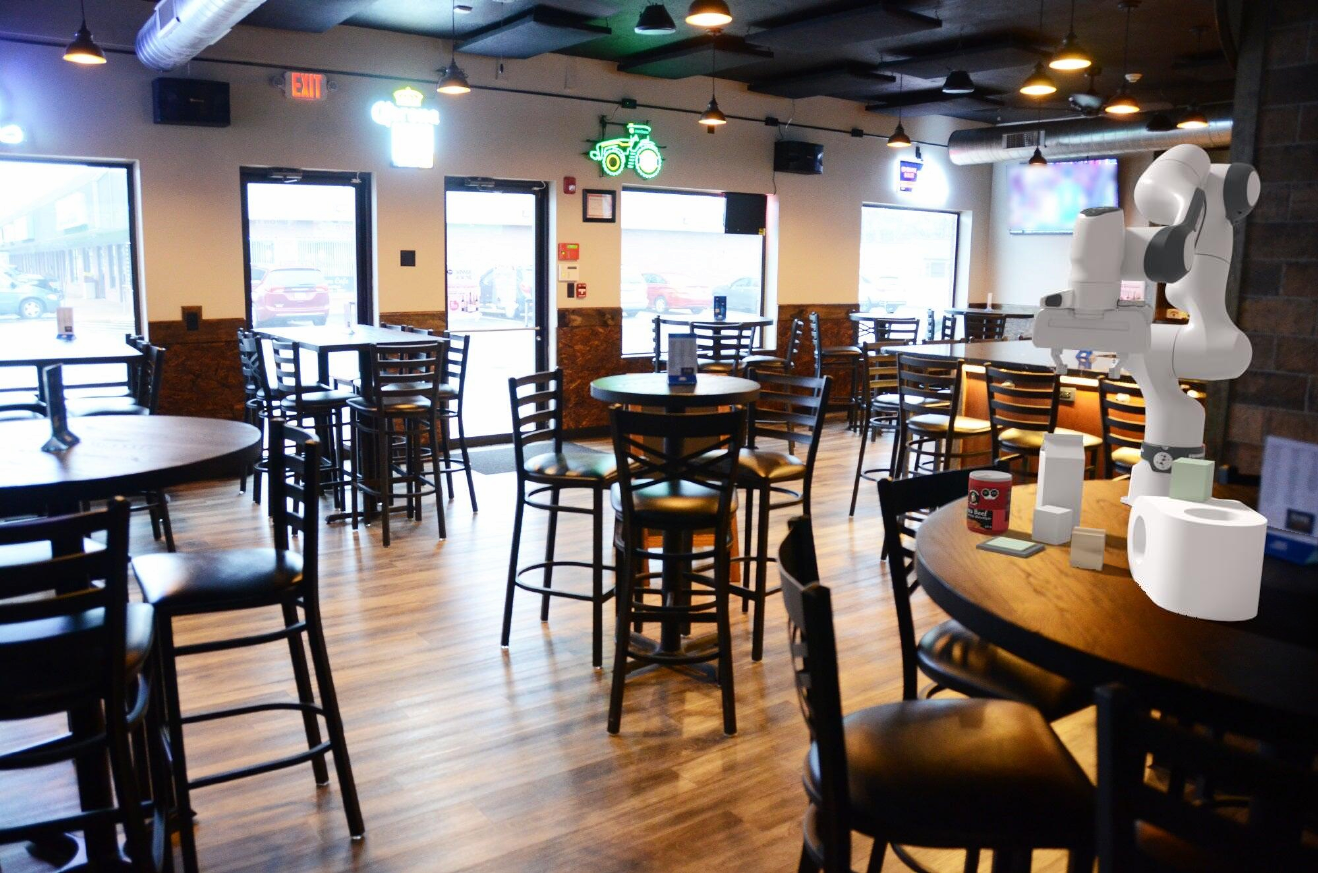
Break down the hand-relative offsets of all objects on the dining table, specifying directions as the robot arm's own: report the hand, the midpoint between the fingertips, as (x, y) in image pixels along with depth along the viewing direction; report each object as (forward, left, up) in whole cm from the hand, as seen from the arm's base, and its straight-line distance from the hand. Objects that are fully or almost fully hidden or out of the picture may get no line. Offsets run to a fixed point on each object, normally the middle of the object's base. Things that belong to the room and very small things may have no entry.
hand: (1087, 376), depth 189 cm
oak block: (+13, +7, -31) cm, 34 cm away
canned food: (+2, -16, -31) cm, 35 cm away
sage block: (+13, +22, -17) cm, 31 cm away
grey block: (+1, -4, -31) cm, 31 cm away
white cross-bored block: (+18, +25, -32) cm, 44 cm away
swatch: (+12, -7, -31) cm, 34 cm away
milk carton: (-7, -6, -31) cm, 33 cm away
